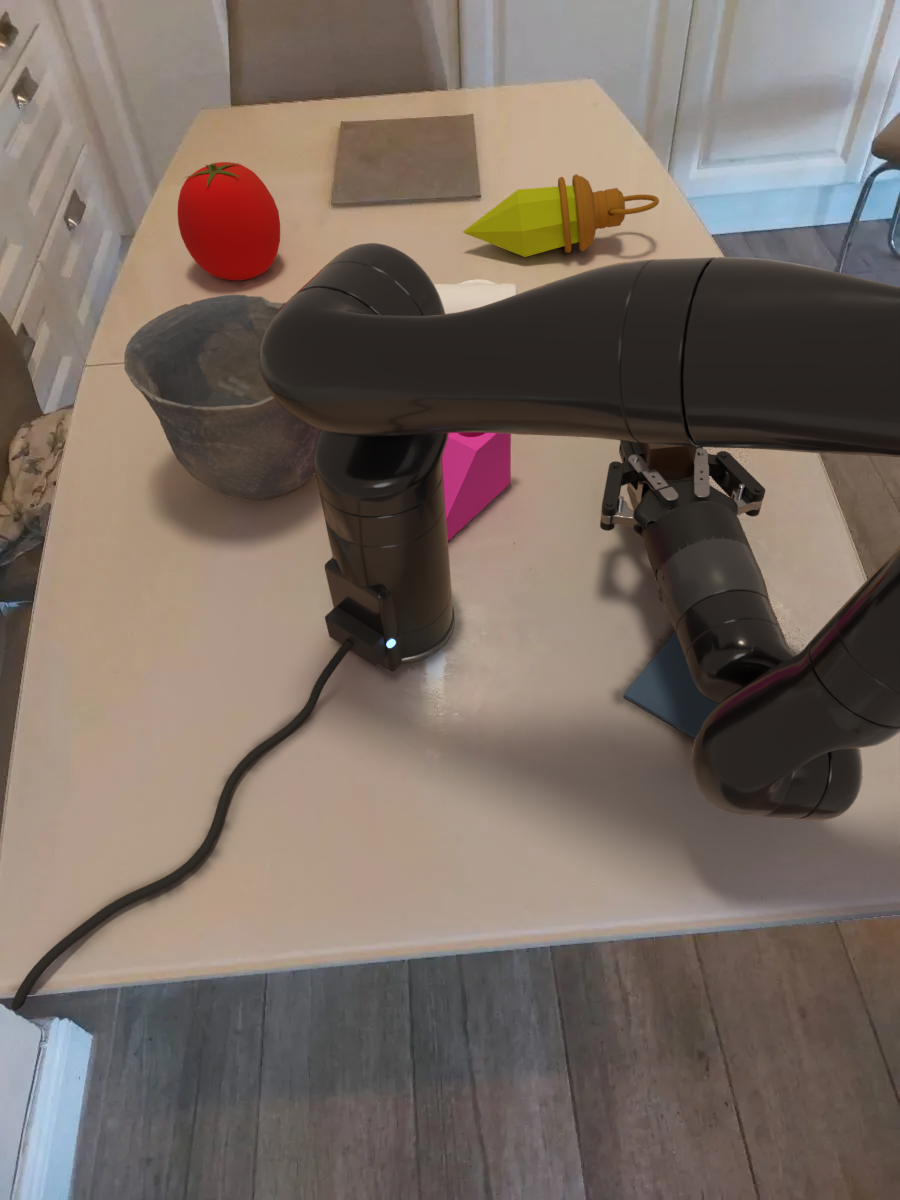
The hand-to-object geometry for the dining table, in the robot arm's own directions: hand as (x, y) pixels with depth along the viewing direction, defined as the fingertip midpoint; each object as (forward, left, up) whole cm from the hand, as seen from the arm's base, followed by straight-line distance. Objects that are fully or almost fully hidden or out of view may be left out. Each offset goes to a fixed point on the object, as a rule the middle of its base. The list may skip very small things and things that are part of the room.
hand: (654, 434), depth 81 cm
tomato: (+7, +65, -9) cm, 66 cm away
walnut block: (-2, -2, -6) cm, 7 cm away
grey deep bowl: (-19, +34, -9) cm, 40 cm away
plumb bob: (+35, +34, -9) cm, 50 cm away
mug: (+12, +30, -9) cm, 34 cm away
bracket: (-11, +17, -9) cm, 22 cm away
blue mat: (-14, -15, -9) cm, 22 cm away
